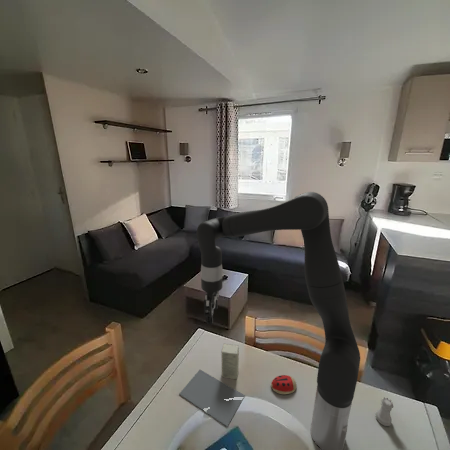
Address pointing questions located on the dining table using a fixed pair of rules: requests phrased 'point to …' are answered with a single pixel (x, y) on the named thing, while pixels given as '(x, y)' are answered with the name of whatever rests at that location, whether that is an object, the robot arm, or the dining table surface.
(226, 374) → the skincare box
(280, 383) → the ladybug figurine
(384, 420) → the rook chess piece
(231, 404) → the mat
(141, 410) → the dining table surface
